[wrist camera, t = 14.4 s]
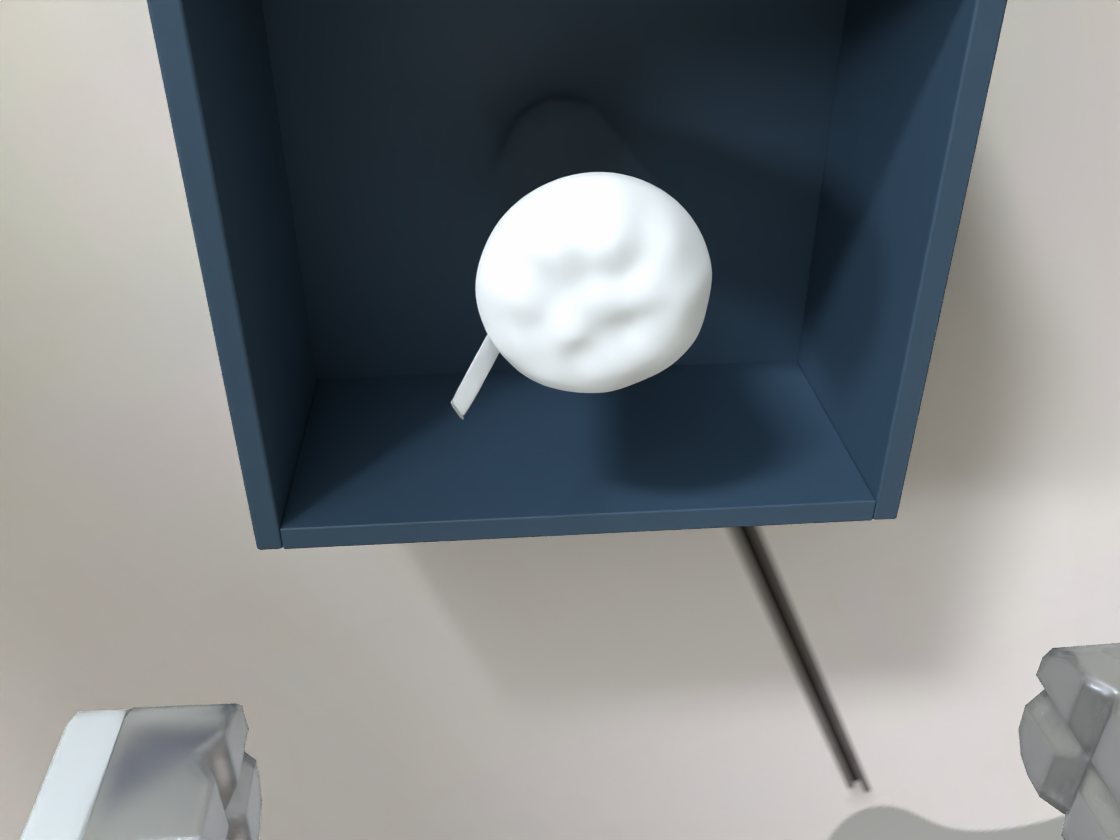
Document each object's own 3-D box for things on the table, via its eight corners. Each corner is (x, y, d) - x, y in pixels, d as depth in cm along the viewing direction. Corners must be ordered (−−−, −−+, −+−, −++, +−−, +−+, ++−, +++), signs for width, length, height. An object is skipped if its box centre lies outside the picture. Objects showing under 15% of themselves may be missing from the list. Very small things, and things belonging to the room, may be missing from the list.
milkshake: (412, 139, 26) (386, 313, 18) (601, 34, 25) (670, 164, 17) (501, 283, 28) (515, 498, 20) (676, 192, 27) (770, 377, 19)
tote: (301, 388, 30) (257, 551, 24) (222, -118, 23) (129, -79, 17) (809, 368, 31) (897, 519, 25) (880, -123, 24) (1027, -89, 18)
